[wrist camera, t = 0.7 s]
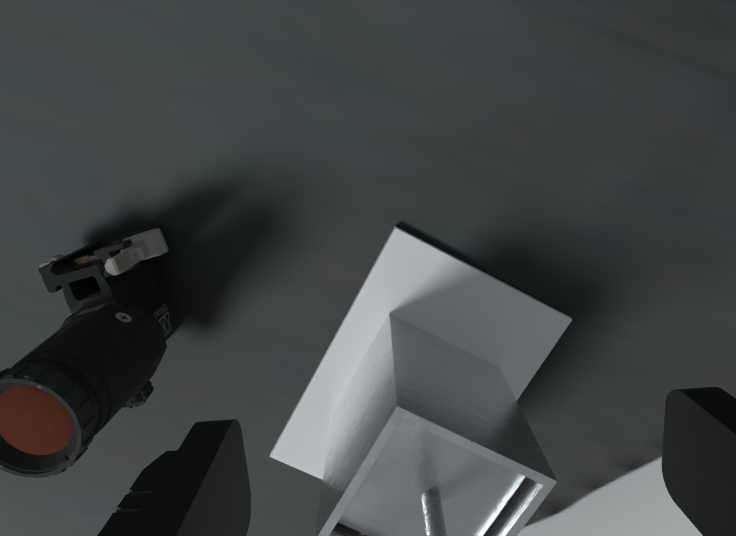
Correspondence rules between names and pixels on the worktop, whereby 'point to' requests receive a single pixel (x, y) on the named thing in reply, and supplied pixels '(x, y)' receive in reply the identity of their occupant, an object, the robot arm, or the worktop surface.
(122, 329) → the scope
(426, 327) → the tray
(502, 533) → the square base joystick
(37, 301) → the worktop surface
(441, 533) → the plunger
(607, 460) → the worktop surface
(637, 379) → the worktop surface
